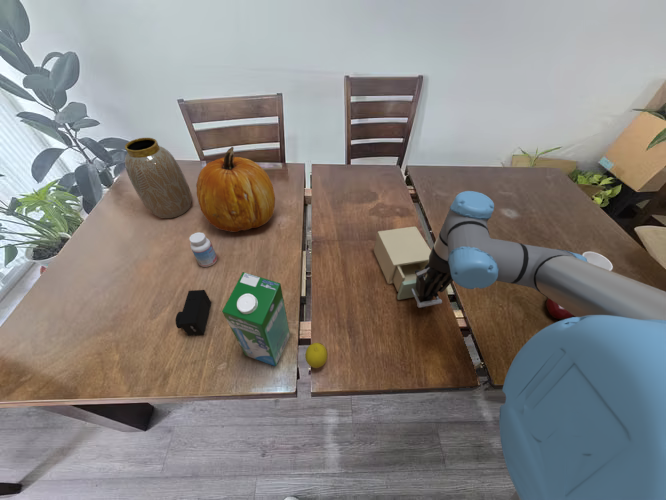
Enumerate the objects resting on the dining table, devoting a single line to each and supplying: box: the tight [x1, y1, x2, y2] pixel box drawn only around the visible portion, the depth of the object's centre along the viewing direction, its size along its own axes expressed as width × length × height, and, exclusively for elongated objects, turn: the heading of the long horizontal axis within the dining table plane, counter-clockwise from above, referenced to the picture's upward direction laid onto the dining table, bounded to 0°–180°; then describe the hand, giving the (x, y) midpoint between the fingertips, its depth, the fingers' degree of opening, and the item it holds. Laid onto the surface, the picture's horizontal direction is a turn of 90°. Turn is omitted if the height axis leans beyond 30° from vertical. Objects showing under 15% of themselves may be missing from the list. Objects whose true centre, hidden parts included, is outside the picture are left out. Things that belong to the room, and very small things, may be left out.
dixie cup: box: [581, 251, 614, 271], centre depth 88 cm, size 8×8×11 cm
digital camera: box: [175, 289, 212, 337], centre depth 76 cm, size 10×5×7 cm, turn 5°
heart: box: [545, 297, 575, 320], centre depth 82 cm, size 12×8×10 cm
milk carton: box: [221, 271, 291, 367], centre depth 65 cm, size 9×9×25 cm
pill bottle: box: [188, 231, 218, 268], centre depth 89 cm, size 6×6×11 cm
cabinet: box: [373, 225, 432, 285], centre depth 91 cm, size 15×14×10 cm
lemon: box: [304, 342, 328, 369], centre depth 68 cm, size 6×6×8 cm
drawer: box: [392, 261, 443, 309], centre depth 84 cm, size 20×13×8 cm, turn 13°
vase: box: [124, 137, 193, 219], centre depth 101 cm, size 17×17×27 cm
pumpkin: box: [196, 146, 276, 233], centre depth 97 cm, size 26×23×30 cm
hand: (422, 304), depth 82 cm, fingers closed
